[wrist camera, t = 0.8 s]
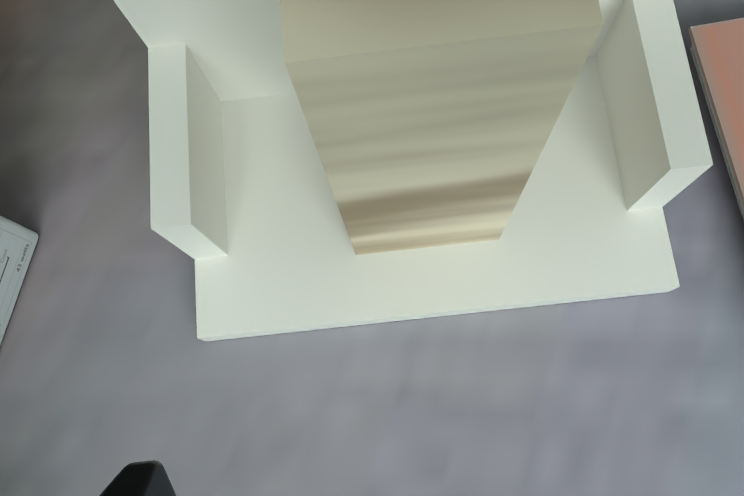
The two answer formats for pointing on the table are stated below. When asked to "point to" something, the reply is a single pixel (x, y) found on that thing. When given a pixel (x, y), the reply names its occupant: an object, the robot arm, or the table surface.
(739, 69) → the notebook
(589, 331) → the table surface
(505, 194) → the maple block
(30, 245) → the light bulb box
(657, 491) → the table surface
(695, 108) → the white toy sofa
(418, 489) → the table surface
